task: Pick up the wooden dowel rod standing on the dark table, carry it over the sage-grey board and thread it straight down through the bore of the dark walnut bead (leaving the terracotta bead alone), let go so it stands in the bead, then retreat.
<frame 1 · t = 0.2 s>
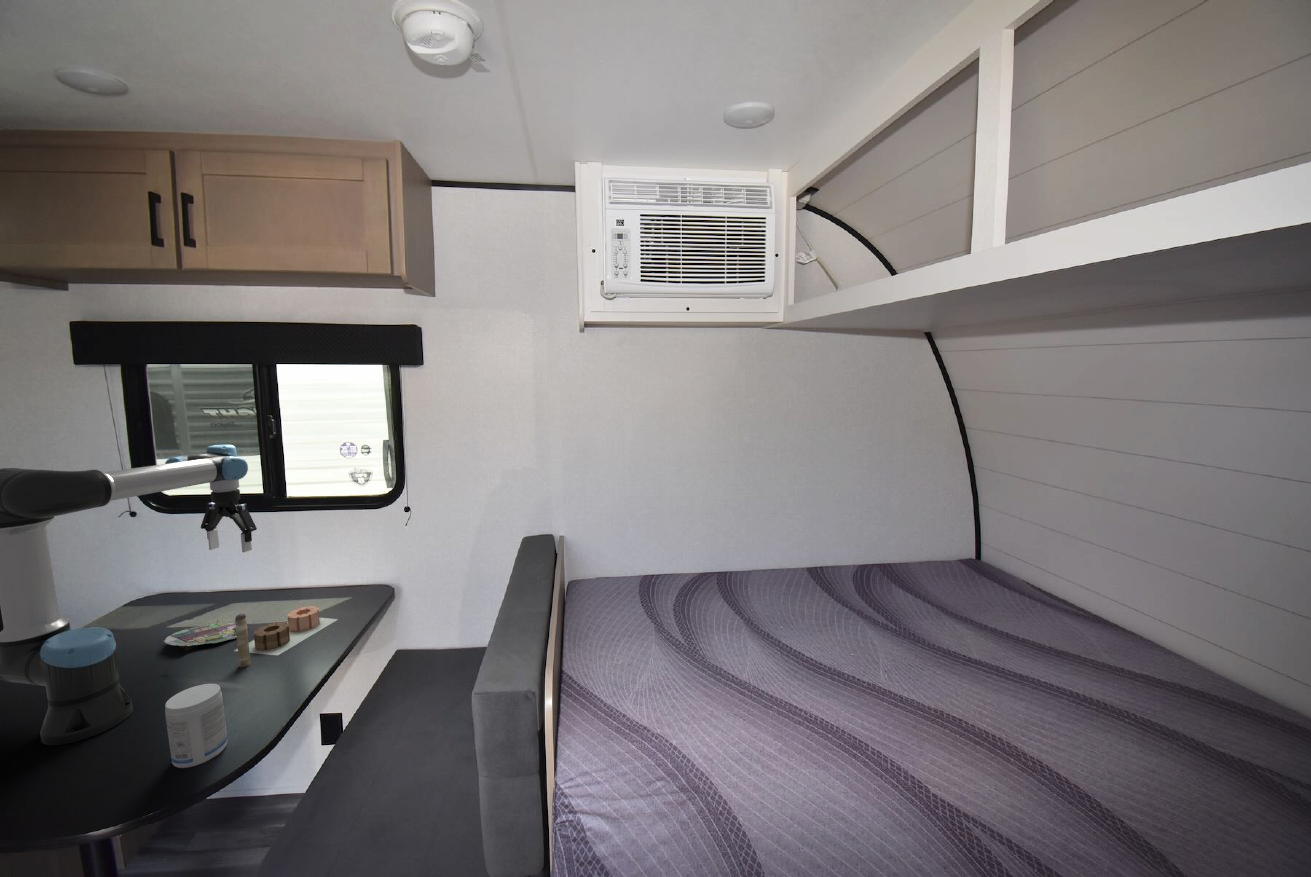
hand: (230, 549, 170), 28 cm above the table, fingers open, 13 cm apart
walnut bead: (272, 643, 159), resting on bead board
supplement tub: (200, 755, 113), on the table
terracotta bead: (304, 625, 171), resting on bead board
wooden dowel rod: (245, 668, 147), on the table
city model: (214, 638, 165), on the table
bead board: (289, 637, 165), on the table
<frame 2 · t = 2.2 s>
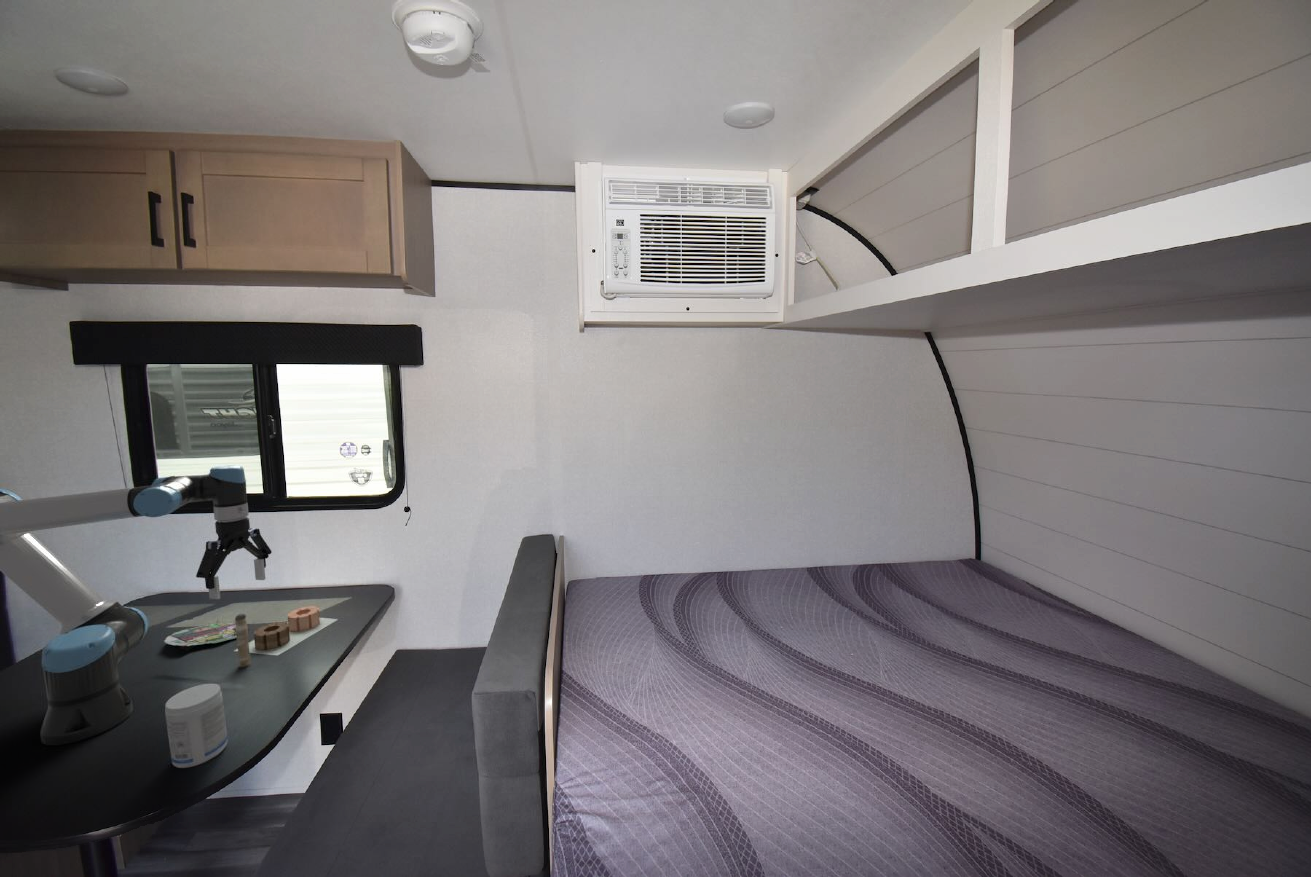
hand: (238, 588, 145), 25 cm above the table, fingers open, 13 cm apart
nothing on the table moved.
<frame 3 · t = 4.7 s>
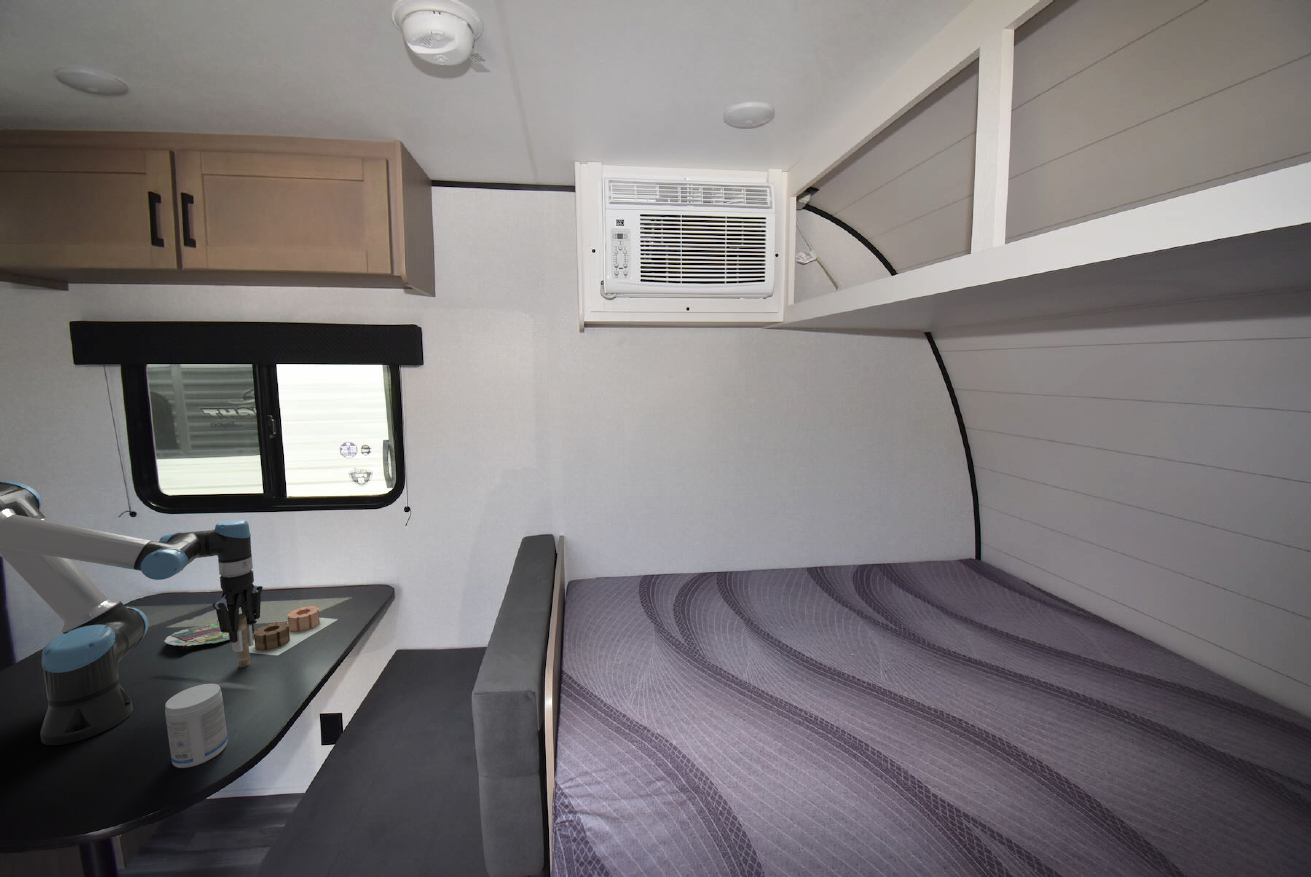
hand: (243, 647, 146), 7 cm above the table, fingers closed on wooden dowel rod, 2 cm apart
wooden dowel rod: (244, 668, 147), on the table, touching gripper
everything else where it was.
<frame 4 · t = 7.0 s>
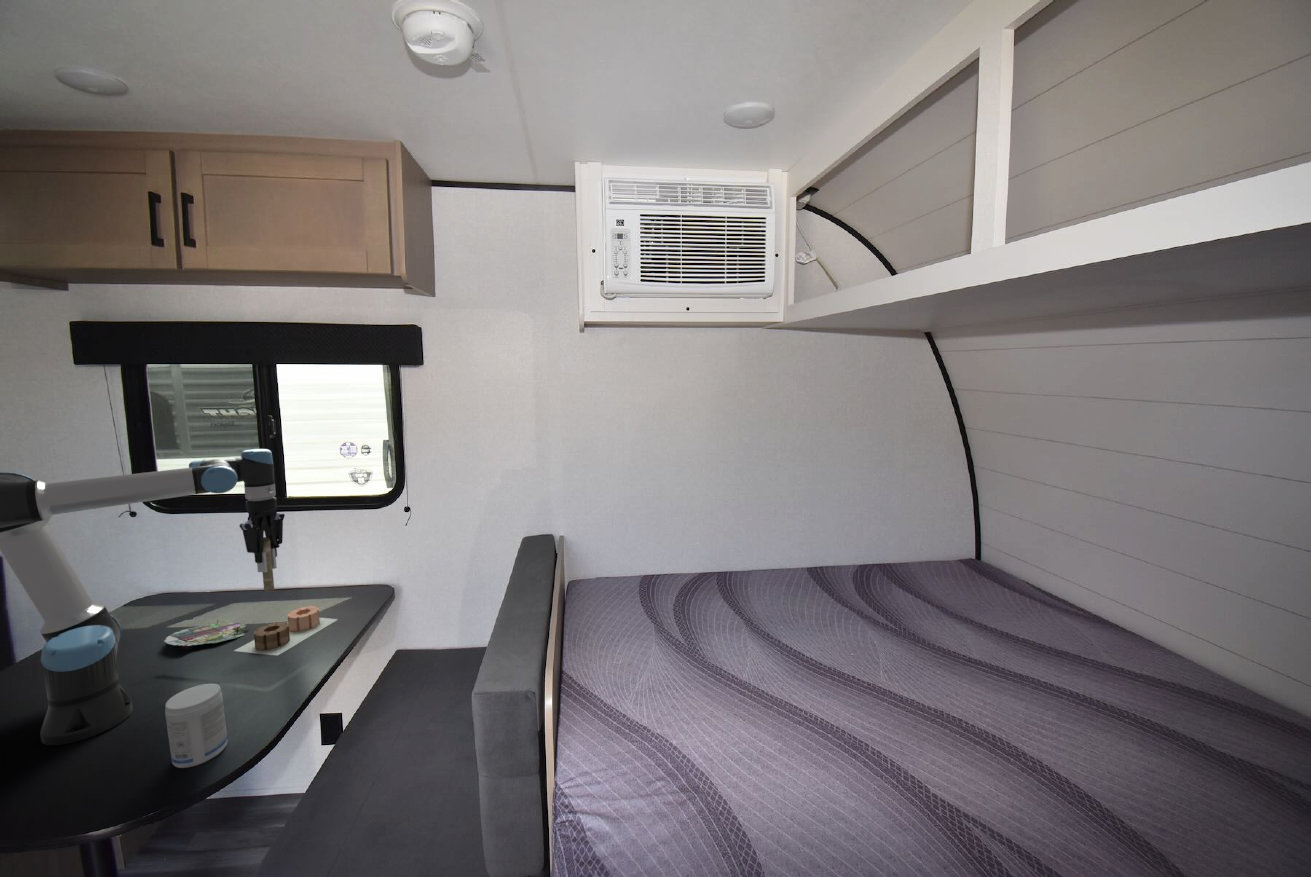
hand: (267, 569, 157), 26 cm above the table, fingers closed on wooden dowel rod, 2 cm apart
wooden dowel rod: (269, 589, 157), point 20 cm above the table, touching gripper
everything else where it was.
when the fingers open (10 cm above the table, at t = 9.6 s): wooden dowel rod drops 2 cm, resting on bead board.
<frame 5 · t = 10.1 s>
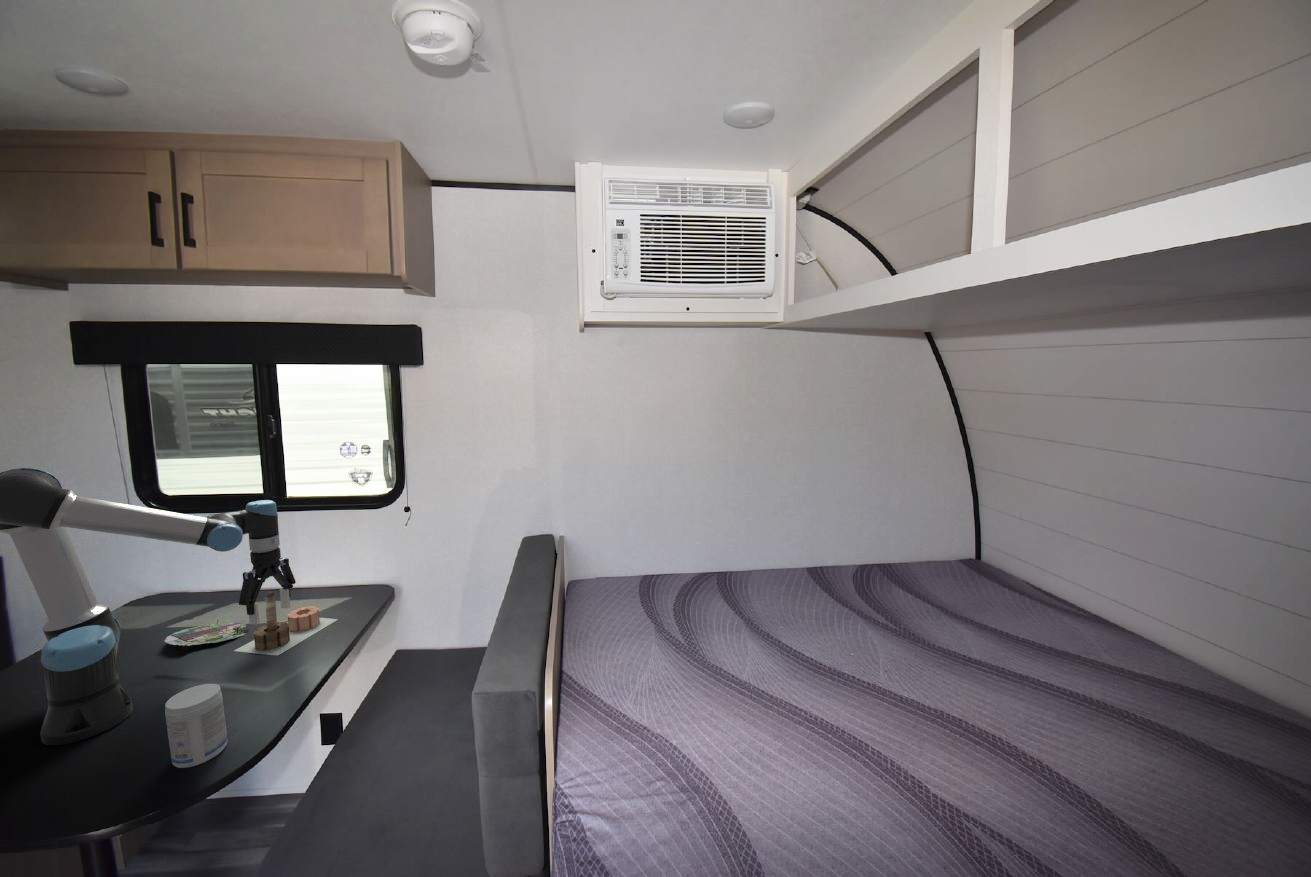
hand: (270, 615, 158), 11 cm above the table, fingers open, 10 cm apart
wooden dowel rod: (273, 643, 159), point 1 cm above the table, touching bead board
everything else where it was.
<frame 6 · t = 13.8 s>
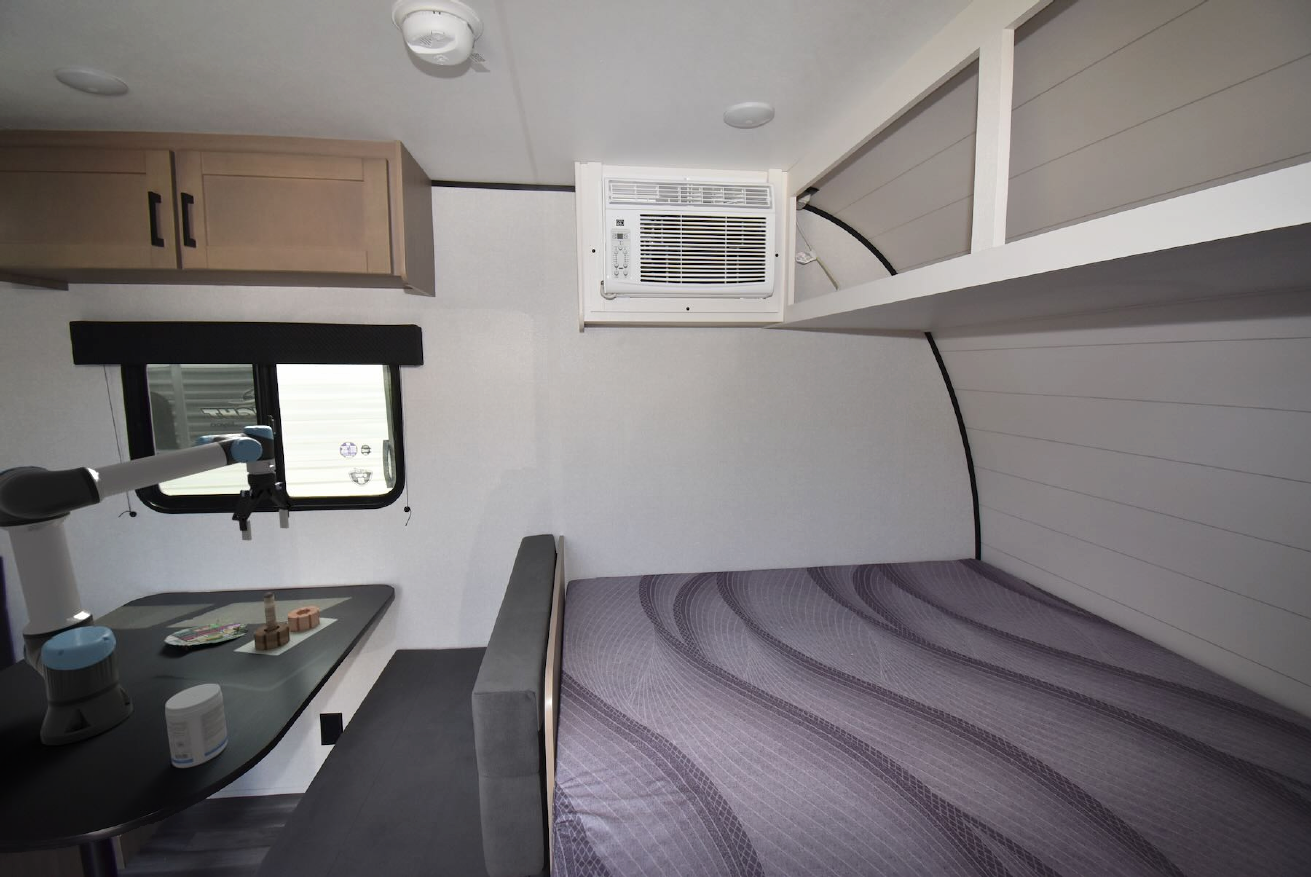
hand: (266, 533, 166), 35 cm above the table, fingers open, 13 cm apart
nothing on the table moved.
at the end: wooden dowel rod 0.1 cm off-centre on the walnut bead, point 0.0 cm above the walnut bead's base; wooden dowel rod tilted 1°; the gripper is holding nothing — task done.
